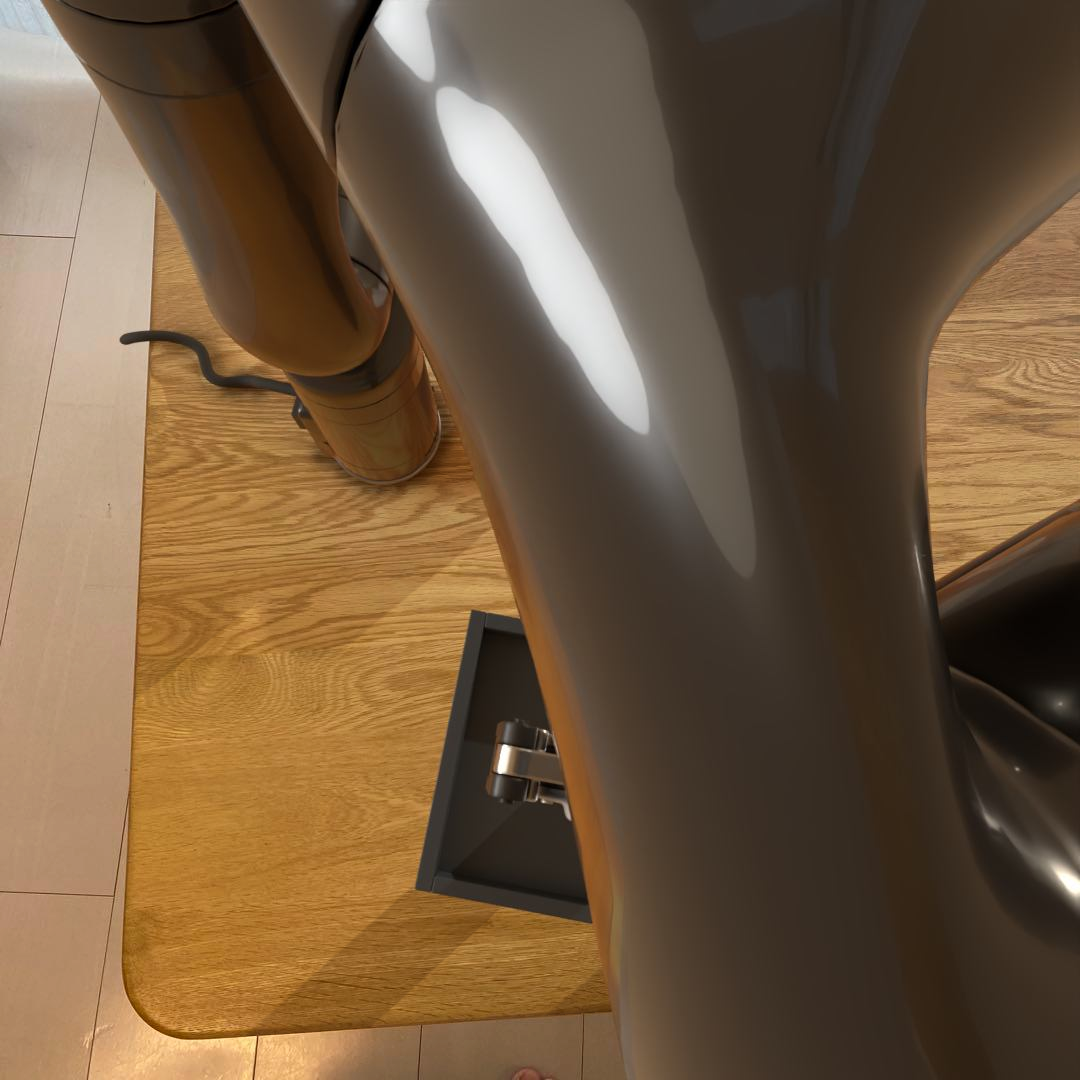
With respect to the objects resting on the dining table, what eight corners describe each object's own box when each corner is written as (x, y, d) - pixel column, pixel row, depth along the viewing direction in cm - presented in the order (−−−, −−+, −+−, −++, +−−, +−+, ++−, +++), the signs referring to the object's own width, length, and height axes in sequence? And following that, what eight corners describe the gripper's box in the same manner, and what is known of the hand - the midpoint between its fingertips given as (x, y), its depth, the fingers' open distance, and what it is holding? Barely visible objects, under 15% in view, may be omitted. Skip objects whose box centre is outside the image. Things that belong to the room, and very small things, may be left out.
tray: (453, 838, 71) (414, 889, 44) (488, 661, 74) (471, 608, 47) (708, 887, 70) (824, 969, 44) (732, 707, 74) (855, 681, 47)
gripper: (1031, 714, 25) (832, 729, 41) (506, 615, 25) (511, 669, 41) (1012, 1016, 23) (811, 909, 39) (449, 907, 23) (477, 845, 39)
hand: (657, 786), depth 40 cm, fingers open, 8 cm apart
